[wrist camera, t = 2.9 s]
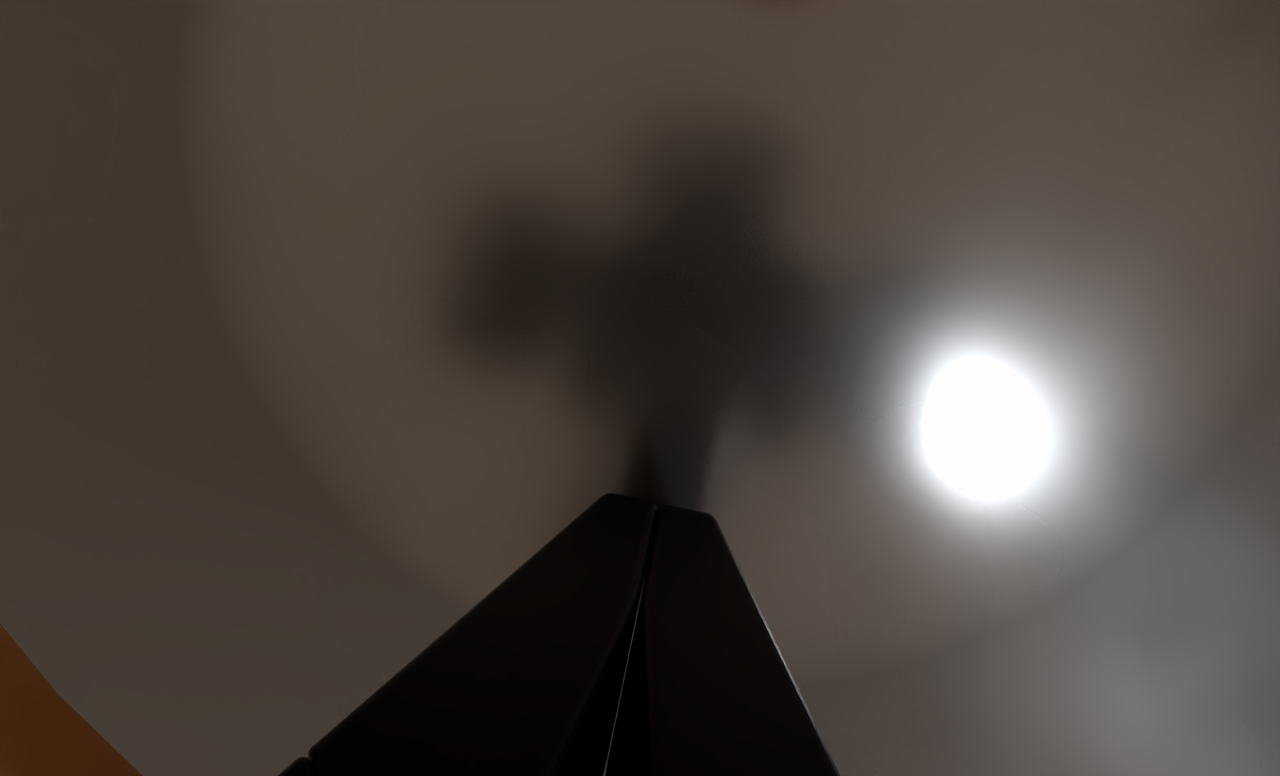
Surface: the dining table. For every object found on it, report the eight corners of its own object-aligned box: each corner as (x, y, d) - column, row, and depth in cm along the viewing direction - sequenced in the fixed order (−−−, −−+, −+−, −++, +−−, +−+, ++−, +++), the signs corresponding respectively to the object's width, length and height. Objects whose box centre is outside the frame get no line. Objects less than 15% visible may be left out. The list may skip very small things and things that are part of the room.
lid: (-1, -1094, 8) (-304, -1677, 6) (2005, -801, 7) (2628, -1319, 5) (-191, 738, 10) (-482, 888, 7) (1401, 1098, 9) (1646, 1390, 7)
